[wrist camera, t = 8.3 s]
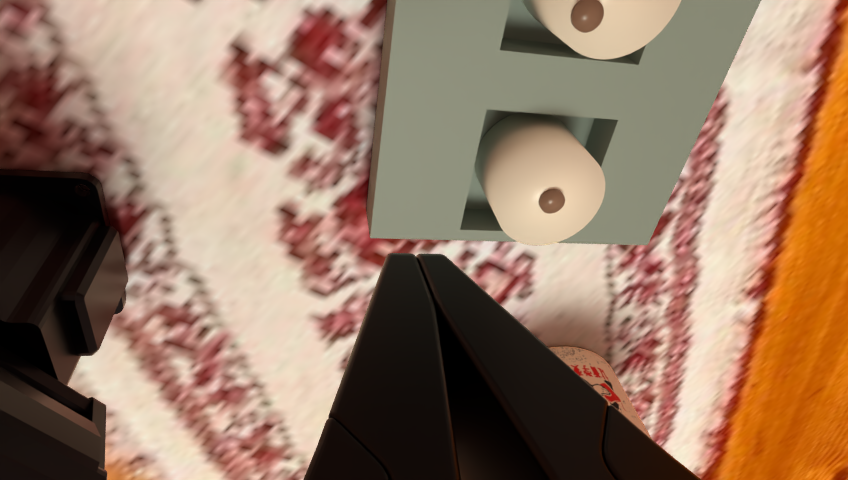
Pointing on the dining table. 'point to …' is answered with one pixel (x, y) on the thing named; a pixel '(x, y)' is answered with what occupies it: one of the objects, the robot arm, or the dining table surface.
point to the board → (536, 111)
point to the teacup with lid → (600, 379)
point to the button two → (603, 23)
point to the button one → (538, 178)
